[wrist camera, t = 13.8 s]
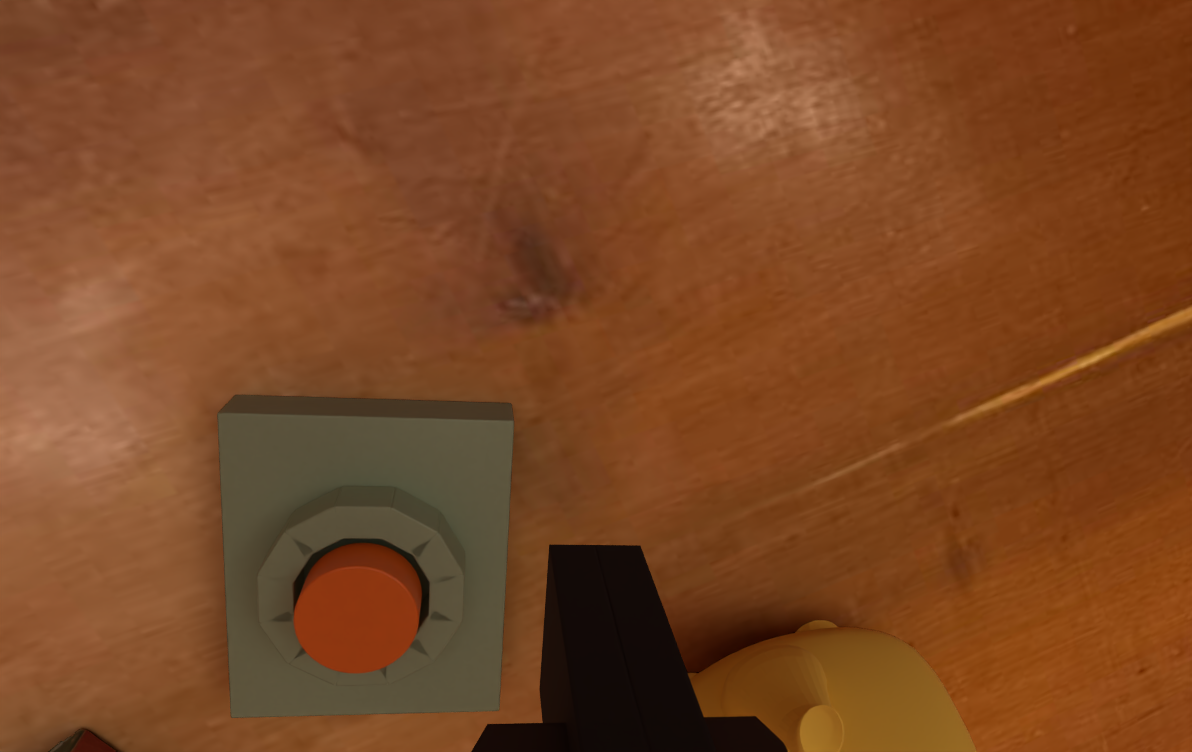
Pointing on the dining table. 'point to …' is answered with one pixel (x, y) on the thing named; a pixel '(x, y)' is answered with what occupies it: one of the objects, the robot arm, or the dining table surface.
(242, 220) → the dining table surface
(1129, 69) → the dining table surface
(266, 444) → the housing
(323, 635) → the button
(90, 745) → the carton
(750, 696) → the teapot
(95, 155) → the dining table surface
